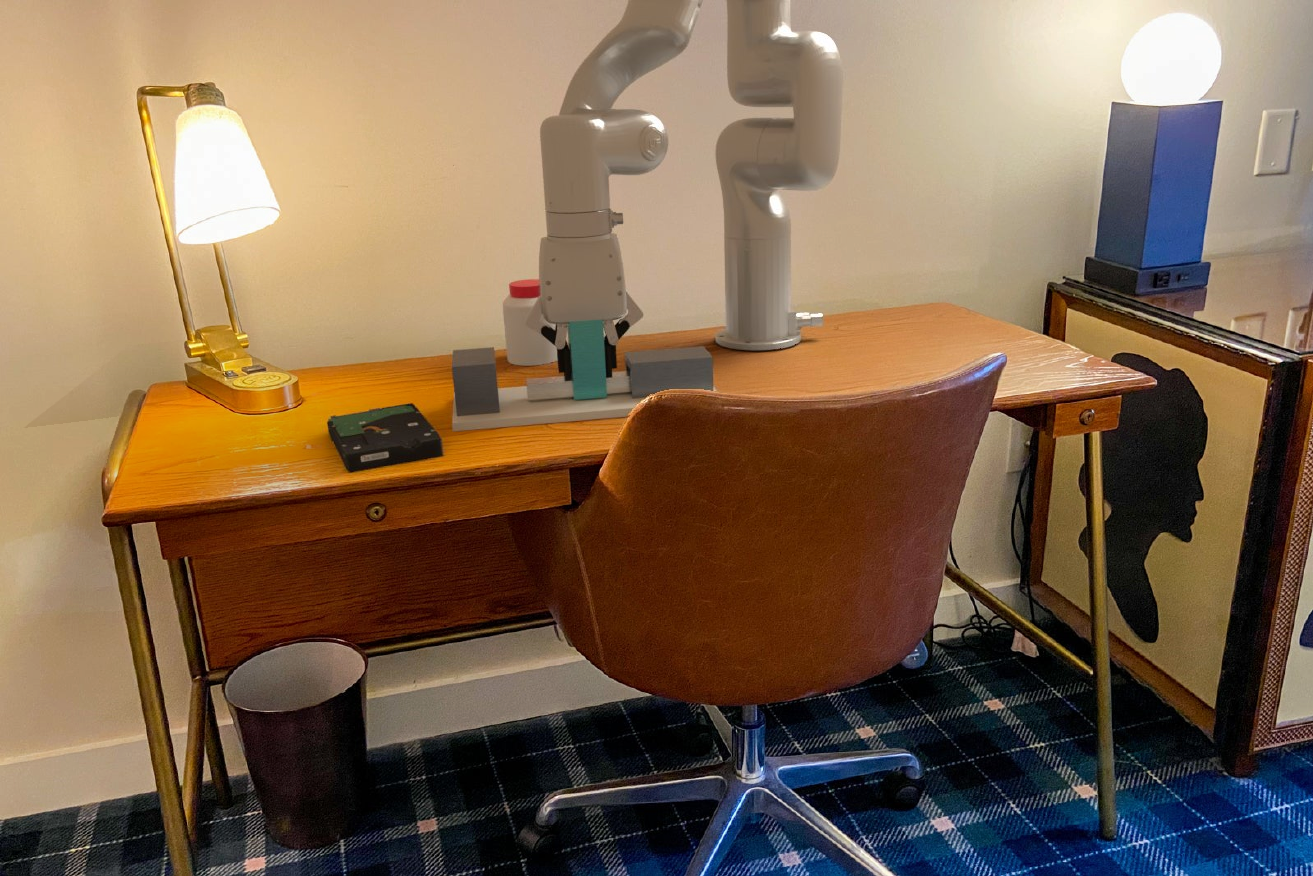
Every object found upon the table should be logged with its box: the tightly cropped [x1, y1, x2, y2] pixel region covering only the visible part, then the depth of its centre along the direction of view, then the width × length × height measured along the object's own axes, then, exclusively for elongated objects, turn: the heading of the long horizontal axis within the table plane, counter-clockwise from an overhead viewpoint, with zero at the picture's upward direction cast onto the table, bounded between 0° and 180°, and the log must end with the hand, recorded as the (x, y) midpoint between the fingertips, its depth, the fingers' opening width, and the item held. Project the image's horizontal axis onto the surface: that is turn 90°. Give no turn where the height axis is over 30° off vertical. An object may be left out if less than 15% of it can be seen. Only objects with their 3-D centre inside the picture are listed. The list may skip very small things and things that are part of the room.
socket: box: [451, 346, 500, 416], centre depth 128 cm, size 5×8×6 cm, turn 9°
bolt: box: [525, 319, 631, 400], centre depth 130 cm, size 21×4×10 cm, turn 99°
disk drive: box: [326, 402, 444, 473], centre depth 119 cm, size 10×3×15 cm
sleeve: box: [624, 345, 714, 399], centre depth 131 cm, size 10×6×4 cm, turn 99°
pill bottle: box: [502, 278, 558, 367], centre depth 151 cm, size 8×8×11 cm
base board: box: [451, 385, 718, 432], centre depth 131 cm, size 32×13×1 cm, turn 99°
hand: (587, 374), depth 130 cm, fingers open, 4 cm apart
